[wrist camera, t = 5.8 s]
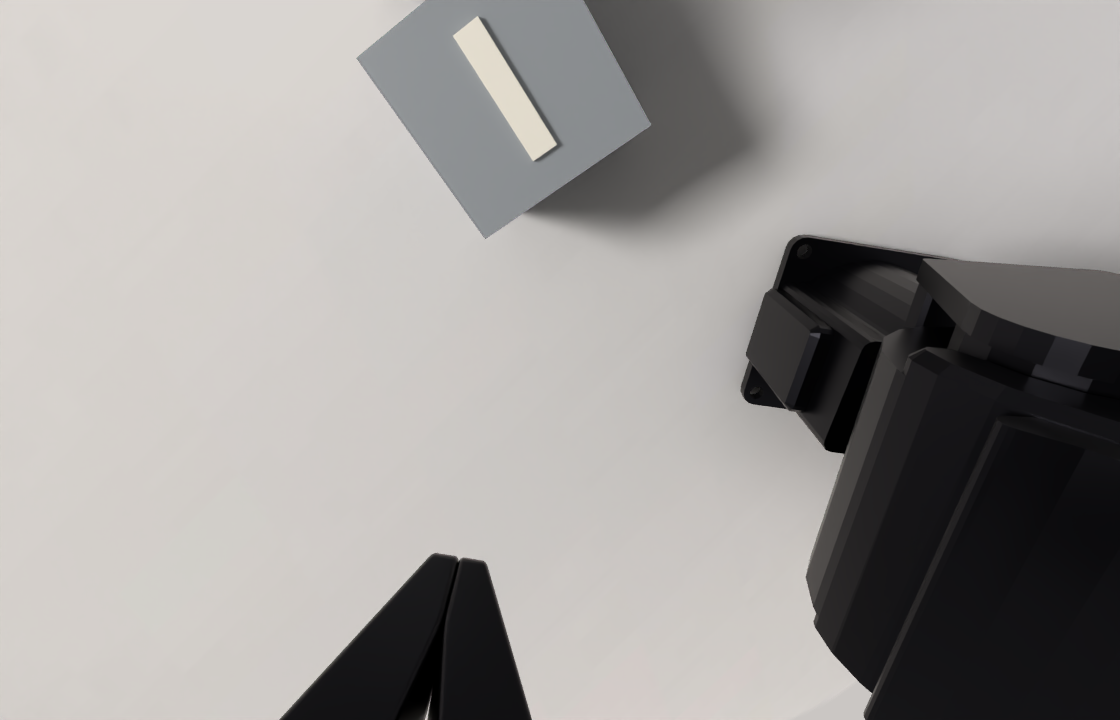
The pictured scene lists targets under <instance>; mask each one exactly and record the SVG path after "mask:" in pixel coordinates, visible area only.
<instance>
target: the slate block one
mask: <svg viewBox="0 0 1120 720" xmlns="http://www.w3.org/2000/svg"><path fill="white" fill-rule="evenodd" d="M357 60H358V61H359V63H360V64H361V65H362V67H363V68H364V70H365V71H366V72H367V74H368V75H369V77H370V78H371V79H372V81H373V82H374V84H375V85H376V87H377V88H378V89H379V91H380V92H381V94H382V95H383V96H384V98H385V99H386V101H387V102H388V103H389V105H390V106H391V108H392V109H393V110H394V112H395V113H396V115H397V116H398V117H399V119H400V120H401V122H402V123H403V124H404V126H405V127H406V129H407V130H408V131H409V133H410V134H411V136H412V137H413V138H414V140H415V141H416V143H417V144H418V145H419V147H420V148H421V150H422V151H423V152H424V154H425V155H426V157H427V158H428V160H429V161H430V162H431V164H432V165H433V167H434V168H435V169H436V171H437V172H438V174H439V175H440V176H441V178H442V179H443V181H444V182H445V183H446V185H447V186H448V188H449V189H450V190H451V192H452V193H453V195H454V196H455V197H456V199H457V200H458V202H459V203H460V204H461V206H462V207H463V209H464V210H465V211H466V213H467V214H468V216H469V217H470V218H471V220H472V221H473V223H474V224H475V225H476V227H477V228H478V230H479V231H480V233H481V234H482V235H483V237H484V238H485V239H486V238H488V237H489V236H491V235H492V234H494V233H495V232H496V231H498V230H499V229H501V228H502V227H504V226H505V225H507V224H508V223H510V222H511V221H512V220H514V219H515V218H517V217H518V216H520V215H521V214H523V213H524V212H526V211H527V210H529V209H530V208H531V207H533V206H534V205H536V204H537V203H539V202H540V201H542V200H543V199H545V198H546V197H547V196H549V195H550V194H552V193H553V192H555V191H556V190H558V189H559V188H561V187H562V186H564V185H565V184H566V183H568V182H569V181H571V180H572V179H574V178H575V177H577V176H578V175H580V174H581V173H583V172H584V171H585V170H587V169H588V168H590V167H591V166H593V165H594V164H596V163H597V162H599V161H600V160H601V159H603V158H604V157H606V156H607V155H609V154H610V153H612V152H613V151H615V150H616V149H618V148H619V147H620V146H622V145H623V144H625V143H626V142H628V141H629V140H631V139H632V138H634V137H635V136H637V135H638V134H639V133H641V132H642V131H644V130H645V129H647V128H648V127H650V126H651V123H650V121H649V119H648V118H647V116H646V114H645V112H644V110H643V108H642V107H641V105H640V103H639V101H638V99H637V97H636V96H635V94H634V92H633V90H632V88H631V86H630V85H629V83H628V81H627V79H626V77H625V75H624V73H623V72H622V70H621V68H620V66H619V64H618V62H617V61H616V59H615V57H614V55H613V53H612V51H611V50H610V48H609V46H608V44H607V42H606V40H605V39H604V37H603V35H602V33H601V31H600V29H599V27H598V26H597V24H596V22H595V20H594V18H593V16H592V15H591V13H590V11H589V9H588V7H587V5H586V4H585V2H584V0H426V1H424V2H423V3H422V4H421V5H420V6H418V7H417V8H416V9H415V10H414V11H412V12H411V13H410V14H409V15H408V16H406V17H405V18H404V19H403V20H402V21H400V22H399V23H398V24H397V25H396V26H394V27H393V28H392V29H391V30H390V31H388V32H387V33H386V34H385V35H384V36H382V37H381V38H380V39H379V40H378V41H376V42H375V43H374V44H373V45H372V46H370V47H369V48H368V49H367V50H366V51H364V52H363V53H362V54H361V55H360V56H358V57H357Z"/></svg>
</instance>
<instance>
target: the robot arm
mask: <svg viewBox="0 0 1120 720" xmlns="http://www.w3.org/2000/svg"><path fill="white" fill-rule="evenodd" d="M802 245H807V251H806V253H805V254H804V255H802V256H797V250H798V249H799V247H800V246H802ZM746 356H747V357H748V359H749V363H748V366H747V369H746V372H745V375H744V379H743V382H742V385H741V393H742V396H743V397H744V399H745V400H746V401H747V402H748V403H751V404H755V405H762V406H770V407H777V408H784V409H787V410H789V411H794V412H796V413H797V414H798V415H799V417H800V418H801V419H802V420H803V422H804V423H805V424H806V425H807V427H808V428H809V429H810V430H811V432H812V433H813V434H814V435H815V437H816V438H817V439H818V440H819V442H820V443H821V444H822V445H823V447H824V448H825V449H826V450H827V451H830V452H836V453H843V454H844V457H843V460H842V463H841V466H840V469H839V472H838V476H837V479H836V482H835V485H834V488H833V491H832V494H831V497H830V500H829V503H828V506H827V509H826V512H825V515H824V518H823V521H822V524H821V527H820V530H819V533H818V536H817V539H816V542H815V545H814V548H813V551H812V554H811V558H810V562H809V566H808V570H807V574H806V580H807V584H808V588H809V592H810V596H811V600H812V604H813V607H814V609H815V611H816V616H815V619H814V625H815V628H816V629H817V631H818V632H819V634H820V635H821V637H822V639H823V640H824V642H825V643H826V645H827V646H828V648H829V649H830V651H831V652H832V653H833V654H834V656H835V657H836V658H837V659H838V660H839V661H840V662H841V663H842V664H843V665H844V666H845V667H846V668H847V669H848V670H849V672H850V673H851V674H852V675H853V676H854V677H855V678H856V679H857V680H858V681H859V682H860V683H861V684H862V685H863V686H864V687H865V688H866V689H868V690H869V691H870V692H871V693H872V695H871V698H870V700H869V702H868V704H867V707H866V709H865V711H864V718H865V720H1120V274H1115V273H1111V272H1105V271H1098V270H1085V269H1071V268H1057V267H1042V266H1028V265H1014V264H1000V263H985V262H971V261H958V260H955V259H950V258H944V257H938V256H932V255H925V254H919V253H913V252H907V251H901V250H894V249H888V248H882V247H876V246H869V245H863V244H857V243H851V242H845V241H838V240H832V239H826V238H820V237H813V236H807V235H798V236H796V237H794V238H792V239H791V240H790V241H789V242H788V244H787V246H786V249H785V252H784V255H783V258H782V261H781V264H780V267H779V270H778V273H777V277H776V280H775V283H774V286H773V289H771V290H769V291H768V292H767V293H765V295H764V298H763V301H762V305H761V308H760V311H759V314H758V317H757V320H756V323H755V327H754V330H753V333H752V336H751V339H750V342H749V345H748V349H747V352H746ZM755 387H760V389H759V391H758V392H757V393H755V394H750V391H751V390H752V389H753V388H755ZM430 699H431V700H430ZM429 703H430V706H429ZM428 707H429V713H428V720H532V718H531V715H530V711H529V708H528V704H527V701H526V698H525V694H524V691H523V687H522V684H521V680H520V677H519V673H518V670H517V666H516V663H515V660H514V656H513V653H512V649H511V646H510V642H509V639H508V635H507V632H506V628H505V625H504V622H503V618H502V615H501V611H500V608H499V604H498V601H497V597H496V594H495V591H494V587H493V584H492V580H491V577H490V573H489V570H488V566H487V564H486V563H485V562H484V561H482V560H476V559H469V558H461V559H460V560H459V563H458V558H457V557H456V556H451V555H445V554H439V553H434V554H432V555H431V556H430V557H428V559H427V560H426V561H425V562H424V563H423V564H422V565H421V566H420V567H419V568H418V569H417V571H416V572H415V573H414V574H413V575H412V576H411V577H410V578H409V579H408V580H407V581H406V583H405V584H404V585H403V586H402V587H401V588H400V589H399V590H398V591H397V592H396V593H395V594H394V596H393V597H392V598H391V599H390V600H389V601H388V602H387V603H386V604H385V605H384V606H383V608H382V609H381V610H380V611H379V612H378V613H377V614H376V615H375V616H374V617H373V618H372V619H371V621H370V622H369V623H368V624H367V625H366V626H365V627H364V628H363V629H362V630H361V631H360V633H359V634H358V635H357V636H356V637H355V638H354V639H353V640H352V641H351V642H350V643H349V645H348V646H347V647H346V648H345V649H344V650H343V651H342V652H341V653H340V654H339V655H338V656H337V658H336V659H335V660H334V661H333V662H332V663H331V664H330V665H329V666H328V667H327V668H326V670H325V671H324V672H323V673H322V674H321V675H320V676H319V677H318V678H317V679H316V680H315V681H314V683H313V684H312V685H311V686H310V687H309V688H308V689H307V690H306V691H305V692H304V693H303V695H302V696H301V697H300V698H299V699H298V700H297V701H296V702H295V703H294V704H293V705H292V707H291V708H290V709H289V710H288V711H287V712H286V713H285V714H284V715H283V716H282V717H281V718H280V720H425V717H426V714H427V711H428Z"/></svg>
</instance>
